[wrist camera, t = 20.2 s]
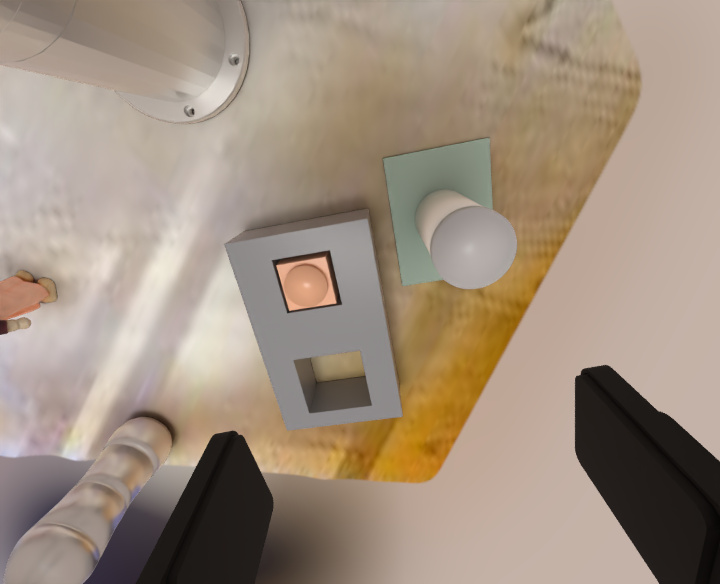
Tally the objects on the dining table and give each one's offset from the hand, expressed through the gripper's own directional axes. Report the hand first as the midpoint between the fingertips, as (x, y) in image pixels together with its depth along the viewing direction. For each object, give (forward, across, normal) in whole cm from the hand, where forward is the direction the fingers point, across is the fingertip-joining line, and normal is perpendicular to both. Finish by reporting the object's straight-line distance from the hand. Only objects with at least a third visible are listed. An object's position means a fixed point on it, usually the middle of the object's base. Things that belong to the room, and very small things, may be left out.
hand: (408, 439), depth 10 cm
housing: (+25, +7, +8) cm, 27 cm away
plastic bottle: (+26, +33, +18) cm, 45 cm away
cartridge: (+25, -6, 0) cm, 26 cm away
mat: (+25, -6, 0) cm, 26 cm away
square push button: (+25, +7, +2) cm, 26 cm away
